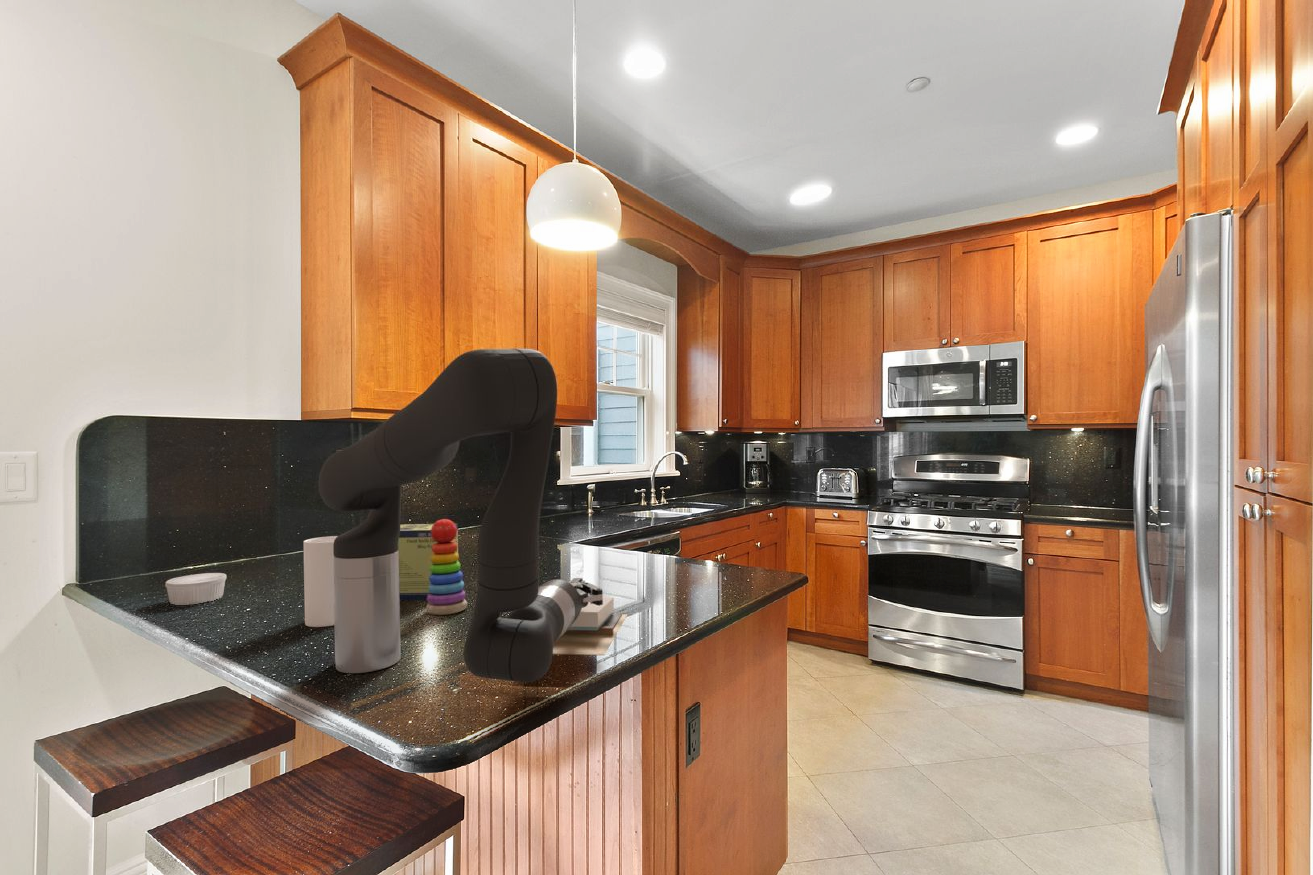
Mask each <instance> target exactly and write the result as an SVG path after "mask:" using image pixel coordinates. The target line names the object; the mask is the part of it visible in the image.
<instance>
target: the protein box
mask: <svg viewBox="0 0 1313 875" xmlns="http://www.w3.org/2000/svg"><path fill="white" fill-rule="evenodd" d="M433 524H434V523H426V524H425V523H419V524H417V523H413V524H412V523H411V524H410V523H409V524H400V535H399V541H398V557H399V598H400V601H403V600H404V601H405V600H406V601H407V600H408V601H410V600H427V596H428V594H429V593H430V592H429V590H428V587H429V585H430V584H431V582H430V581H429V576H430V575H431V574H432V572H431V571H430V566H431V564H433V563H432V562H431V560H430V558H431V556H432V555H433V554H435V553H434V552H433V551H432V546H433V545H434V544H435V543H438V542H436V541H435V540H434V539H433V538H432V535H431V528H432V526H433ZM454 524H455V525H456V528H457V534H456V536H455V538H454V539H453V540H452V541H450V542H455V543H456V544H457V546H458V547H457V550H456V551H455V552H457V553H458V554H459V529H458V528H459V527H458V525H459V524H458V522H457V523H456V522H454ZM457 561H458V562H459V559H458V560H457Z"/></svg>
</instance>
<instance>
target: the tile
mask: <svg viewBox="0 0 1313 875" xmlns="http://www.w3.org/2000/svg"><path fill="white" fill-rule="evenodd" d="M614 601H615V600H614V597H603V604H602V605H600V606H598V605H595V604H590V602H588V605H587V606H586V607H583V608H582V609H581V611H580V614H579V616H578V617H577V619H576V620H575V621H574V623H573V624H572V625H571V626H570V627H569V628H568V630H598V629H599V628H600V627H601V626H602V625H603V624H604V623H605V622H606V621H607V619H608V618H609V617H610V616H611V615H612V613H613V612H614V611H615V610H614V609H615V608H614Z"/></svg>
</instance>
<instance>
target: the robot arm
mask: <svg viewBox="0 0 1313 875" xmlns="http://www.w3.org/2000/svg"><path fill="white" fill-rule="evenodd" d="M557 404H558V384H557V376H556V373H555V369H554V367H553V365H552V364H551V362H550V360H549V359H548V357H546V355H545V354H544V353H542V352H540V351H539V350H536V349H533V348H481V349H474V350H470V351H466V352H464V353H462V354H460V355H458V356H457V357H455V359H453V360H452V361H451V362H450V363H449V364H448V365H447V366H446V367H445V368H444V369H443V371H441V373H440V374H439V375H438V376H437V377H436V379H435V380H434V381H433V382H432V383H431V384H430V385H429V386H428V387H427V389H426V390H424V392H422V393H421V394H420V395H418V396H417V397H416V398H414V399H413V400H412V401H411V402H409V403H408V404H407V405H406V406H404V407H403V408H401V409H400V410H398V411H397V412H395V413H394V414H393V415H391V416H390V417H389V418H388V419H386V420H384V422H382V423H381V424H380V425H379V426H378V427H376V428H375V429H374V430H372V431H371V432H370V433H368V434H367V435H365V436H363V438H361V439H360V440H358V441H356V442H355V443H353V444H352V445H349V446H347V447H345V448H343V449H340V450H338V451H335V452H333V453H332V454H330V456H328V458H327V459H326V460H325V461H324V462H323V465H322V466H321V468H320V469H321V470H320V472H319V475H318V481H317V482H318V483H317V484H318V485H317V486H318V492H319V495H320V497H321V500H322V501H323V503H324V504H325V505H326V506H327V507H328V508H330V509H332V510H334V511H338V512H339V511H340V512H346V513H347V512H356V511H357V512H358V511H366V510H368V511H369V512H368V516H367V517H366V519H364V520H363V522H361V523H360V524H359V525H357V526H356V527H354V528H352V529H350V530H347V531H346V532H344V533H342V534H340V535H337V536H338V537H337V538H336V539H335V540H334V544H333V554H334V598H335V604H334V625H333V626H334V627H333V628H334V661H335V662H334V663H335V669H336V670H337V672H340V673H343V674H344V673H345V674H363V673H364V674H365V673H369V672H374V671H379V670H382V669H383V670H384V669H385V668H389V667H391V666H393V665H395V664H396V663H398V662H399V661H401V656H402V655H401V610H400V609H401V607H400V605H401V604H400V602H401V600H400V598H399V557H398V541H399V535H400V525H401V513H402V512H401V509H402V506H401V504H402V486H404V485H406V484H407V485H409V484H413V483H415V482H419V481H421V480H423V479H426V478H427V477H430V476H431V475H433V474H435V473H437V472H439V471H441V470H443V469H444V468H445V467H447V466H448V465H449V464H450V463H451V462H452V461H453V460H454V458H455V457H456V455H457V453H458V450H459V446H460V441H463V440H467V439H469V438H473V437H479V436H488V435H495V434H502V433H510V450H509V456H508V460H507V464H506V467H505V469H504V472H503V475H502V478H501V480H500V482H499V485H498V487H497V489H496V491H495V494H494V495H493V497H492V499H491V501H490V504H488V505H489V506H488V508H487V510H486V512H485V514H484V516H483V519H482V522H481V525H480V528H479V532H478V537H477V543H476V544H477V545H476V546H477V547H476V548H477V549H476V551H477V552H476V554H477V555H476V556H477V557H476V560H477V562H476V563H477V593H476V599H475V605H474V609H473V613H472V618H471V622H470V626H469V629H468V632H467V635H466V639H465V642H464V645H463V646H464V648H463V660H464V664H465V665H466V667H467V669H468V670H469V672H470V673H471V674H472V675H473V676H475V677H478V678H481V679H482V678H483V679H491V680H501V681H510V682H518V683H533V682H535V681H538V680H540V679H542V678H543V677H544V676H546V674H547V672H548V671H549V670H550V667H551V664H552V659H553V655H554V654H553V643H554V642H555V641H556V640H557V639H558V638H559V637H561V636H562V635H563V634H564V633H565V632H566V631H567V630H568V628H569V627H570V626H571V625H572V624H573V623H574V621H575V620H576V619H577V617H578V616H579V614H580V611H581V609H582V608H583V607H586V606H587V605H588V602H590V604H595V605H598V606H600V605H602V604H603V598H604V596H603V593H604V592H603V588H601V587H599V586H597V585H595V584H593V583H590V582H586V580H583V577H573V578H572V579H571V580H569V581H568V580H567V581H566V580H564V579H558V578H557V579H550V580H548V581H546V582H544V583H542V584H541V585H540V571H539V570H540V556H539V555H540V554H539V553H540V552H539V551H540V550H539V547H540V542H539V540H540V521H541V519H540V518H541V512H542V511H541V509H542V501H543V495H544V489H545V484H546V478H547V472H548V466H549V461H550V455H551V447H552V439H553V434H554V429H555V422H556V415H557V406H558V405H557ZM508 612H510V613H509V615H508V616H507V618H505V617H502V616H501V613H508Z"/></svg>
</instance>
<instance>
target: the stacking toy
mask: <svg viewBox="0 0 1313 875" xmlns="http://www.w3.org/2000/svg"><path fill="white" fill-rule="evenodd" d="M454 523H455V522H454V521H452V520H451V519H448V518H443V519H442V518H441V519H439V520H436V521H435V522H434V523H432V524H433V526H432V528H431V535H432V538H433V539H434V540H435V541H436V542H438V543H435V544H434V545H433V546H432V551H433V552H434V553H435V554H433V555H432V556H431V558H430V560H431V562H432V563H433V564H431V566H430V571H431V572H432V574H431V575H430V576H429V581H430V582H431V584H430V585H429V587H428V590H429V592H430V593H429V594H428V596H427V599H426V601H427V605H426V608H425V609H426V611H427V613H428V614H430V615H435V616H444V615H452V614H456V613H459V612H462V611H464V610H465V609H466V608H467V607H468V601H467V600H466V599H465V598H466V592H465V590H464V588H465V583H464V581H463V580H462V579H463V577H464V574H463V572H462V571H461V570H460V569H461V562H460V561H459V558H460V555H459V552H458V553H457V552H455V551H456V550H457V547H458V548H459V545H458V546H457V544H456V543H455V542H450V541H452V540H453V539H454V538H455V536H456V534H457V528H456V525H455V524H454ZM457 560H458V561H457Z"/></svg>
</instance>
